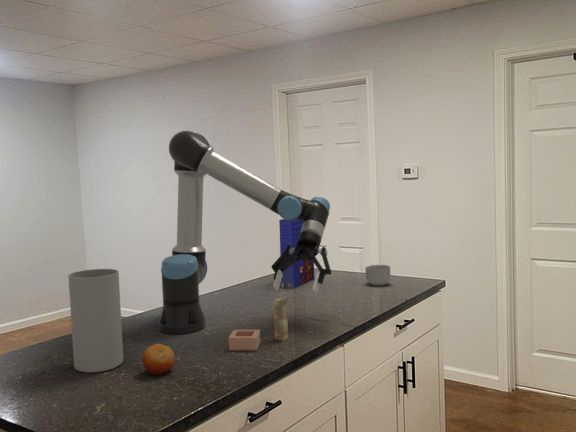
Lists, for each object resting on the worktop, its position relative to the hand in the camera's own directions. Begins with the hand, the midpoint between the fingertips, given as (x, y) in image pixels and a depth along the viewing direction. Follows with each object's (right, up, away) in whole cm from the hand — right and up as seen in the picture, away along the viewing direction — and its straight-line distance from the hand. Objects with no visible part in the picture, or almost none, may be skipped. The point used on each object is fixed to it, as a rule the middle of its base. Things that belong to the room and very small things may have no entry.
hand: (294, 290), depth 172 cm
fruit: (-35, -17, -32) cm, 50 cm away
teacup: (+37, -7, +68) cm, 78 cm away
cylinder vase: (-53, -17, -25) cm, 61 cm away
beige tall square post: (-4, -14, -6) cm, 16 cm away
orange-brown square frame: (-15, -14, -12) cm, 24 cm away
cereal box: (+3, -7, +74) cm, 74 cm away
